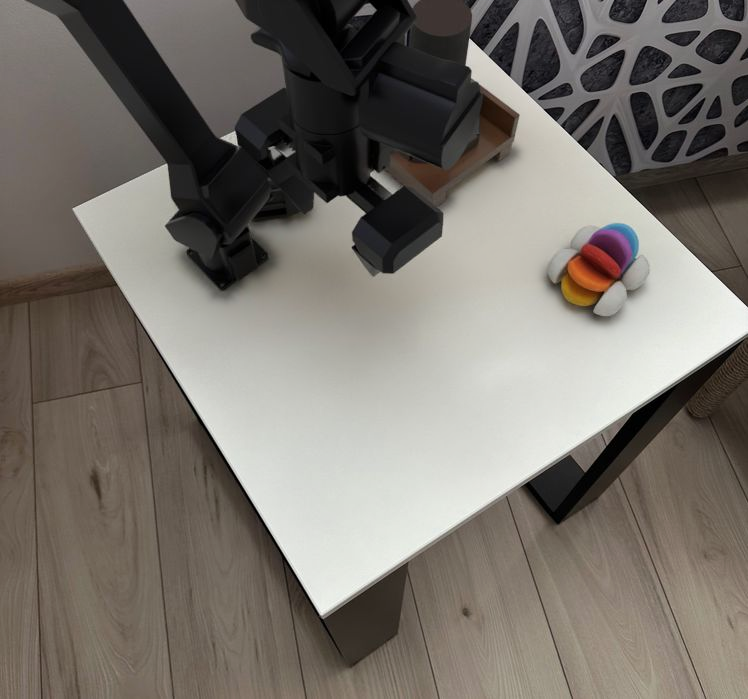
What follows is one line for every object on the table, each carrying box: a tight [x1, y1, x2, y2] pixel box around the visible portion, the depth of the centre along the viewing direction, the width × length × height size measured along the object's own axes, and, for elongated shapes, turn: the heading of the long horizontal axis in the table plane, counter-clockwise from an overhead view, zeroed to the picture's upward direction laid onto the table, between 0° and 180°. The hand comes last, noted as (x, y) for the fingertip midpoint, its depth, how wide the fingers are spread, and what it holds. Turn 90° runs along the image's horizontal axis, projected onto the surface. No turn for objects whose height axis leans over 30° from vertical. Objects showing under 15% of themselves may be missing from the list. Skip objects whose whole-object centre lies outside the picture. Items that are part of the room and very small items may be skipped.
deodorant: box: [408, 0, 473, 66], centre depth 81 cm, size 6×6×15 cm
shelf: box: [383, 77, 521, 208], centre depth 87 cm, size 14×13×6 cm
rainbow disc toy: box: [547, 222, 651, 317], centre depth 78 cm, size 8×10×7 cm
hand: (341, 240), depth 67 cm, fingers open, 9 cm apart
